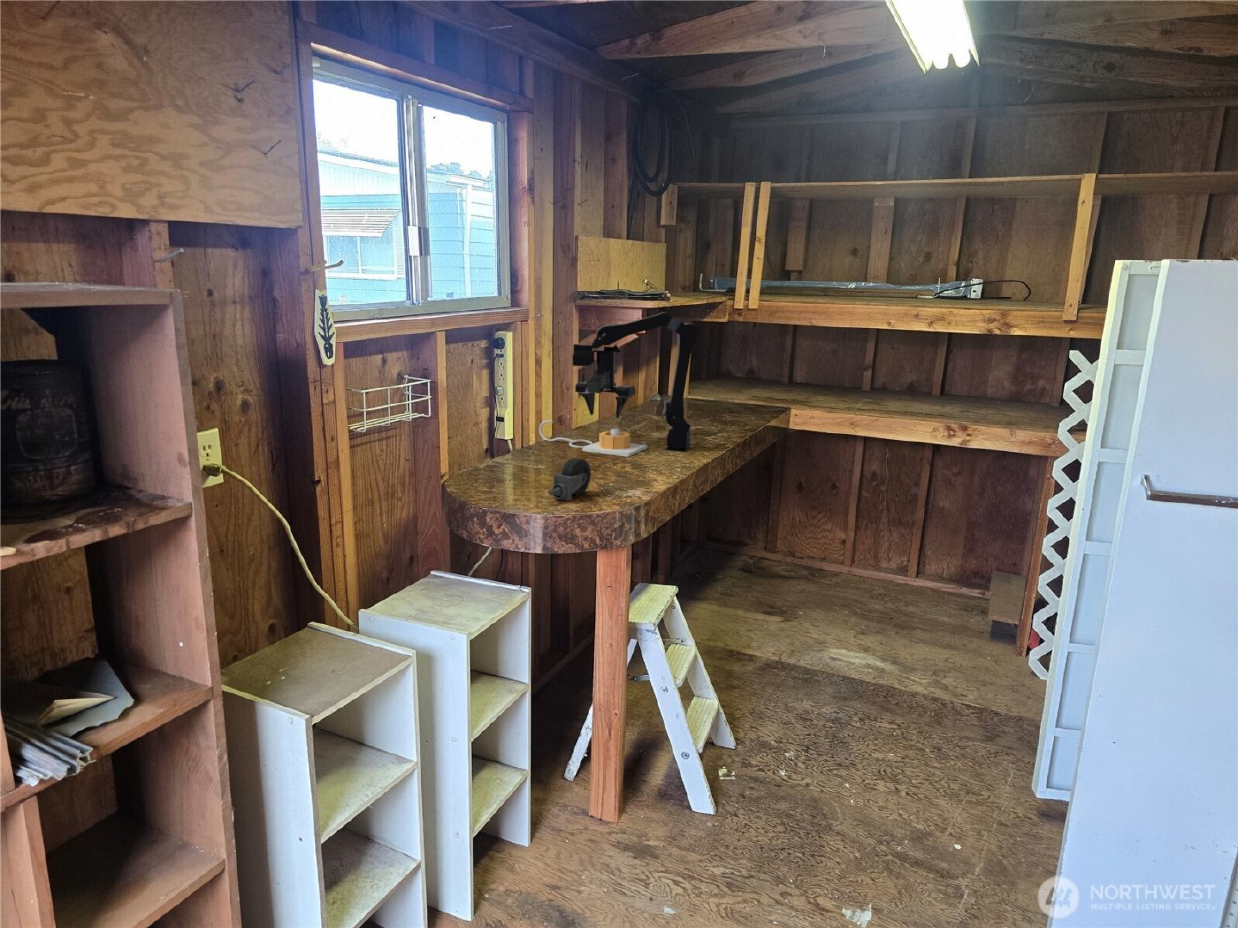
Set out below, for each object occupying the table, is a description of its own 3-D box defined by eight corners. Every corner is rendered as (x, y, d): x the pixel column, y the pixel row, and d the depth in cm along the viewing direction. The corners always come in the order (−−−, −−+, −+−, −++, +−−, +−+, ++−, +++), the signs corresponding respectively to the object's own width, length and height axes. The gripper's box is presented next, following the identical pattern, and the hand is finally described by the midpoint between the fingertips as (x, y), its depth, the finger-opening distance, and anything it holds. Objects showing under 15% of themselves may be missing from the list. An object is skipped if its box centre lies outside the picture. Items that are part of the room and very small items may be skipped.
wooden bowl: (633, 445, 246) (634, 432, 245) (621, 450, 238) (621, 437, 237) (608, 442, 250) (608, 430, 249) (594, 447, 242) (595, 434, 241)
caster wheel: (576, 492, 198) (540, 500, 185) (578, 455, 196) (542, 460, 183) (594, 496, 195) (559, 504, 182) (596, 458, 193) (561, 463, 181)
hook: (546, 436, 263) (595, 452, 254) (529, 440, 255) (579, 457, 246) (549, 415, 260) (598, 430, 251) (532, 419, 253) (582, 435, 243)
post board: (647, 448, 247) (647, 428, 245) (628, 456, 234) (628, 435, 233) (603, 442, 254) (603, 423, 252) (582, 450, 241) (582, 430, 240)
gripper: (566, 367, 237) (566, 417, 240) (620, 371, 229) (619, 423, 232) (584, 363, 246) (583, 412, 250) (636, 367, 238) (635, 417, 242)
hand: (604, 416), depth 243 cm, fingers open, 9 cm apart
